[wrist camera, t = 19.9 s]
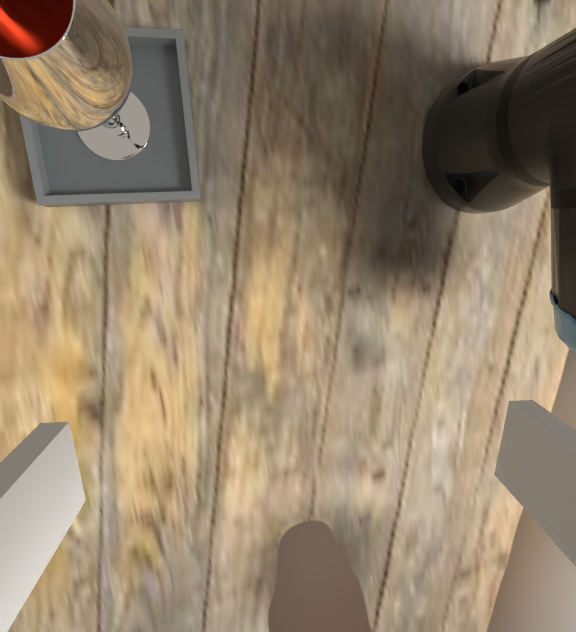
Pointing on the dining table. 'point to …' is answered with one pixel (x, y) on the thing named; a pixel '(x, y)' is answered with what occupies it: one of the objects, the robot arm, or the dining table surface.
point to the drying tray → (145, 168)
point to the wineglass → (72, 72)
